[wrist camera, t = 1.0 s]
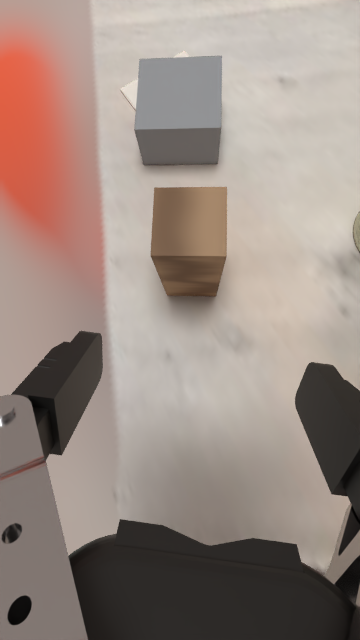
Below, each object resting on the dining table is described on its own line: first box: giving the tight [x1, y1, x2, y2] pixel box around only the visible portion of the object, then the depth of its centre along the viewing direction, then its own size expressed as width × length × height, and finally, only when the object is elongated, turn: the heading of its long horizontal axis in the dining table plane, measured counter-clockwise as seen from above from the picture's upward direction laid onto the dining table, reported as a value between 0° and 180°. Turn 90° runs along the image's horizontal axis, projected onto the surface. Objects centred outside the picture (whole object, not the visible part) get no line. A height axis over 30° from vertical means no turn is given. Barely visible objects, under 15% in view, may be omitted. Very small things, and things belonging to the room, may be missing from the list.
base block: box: [134, 56, 222, 165], centre depth 31 cm, size 9×9×5 cm
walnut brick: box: [151, 187, 227, 296], centre depth 25 cm, size 5×5×11 cm
